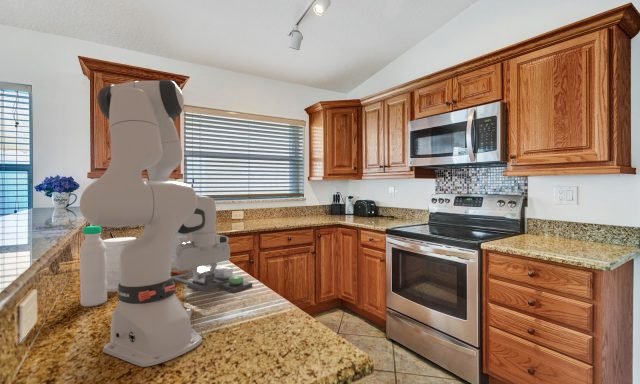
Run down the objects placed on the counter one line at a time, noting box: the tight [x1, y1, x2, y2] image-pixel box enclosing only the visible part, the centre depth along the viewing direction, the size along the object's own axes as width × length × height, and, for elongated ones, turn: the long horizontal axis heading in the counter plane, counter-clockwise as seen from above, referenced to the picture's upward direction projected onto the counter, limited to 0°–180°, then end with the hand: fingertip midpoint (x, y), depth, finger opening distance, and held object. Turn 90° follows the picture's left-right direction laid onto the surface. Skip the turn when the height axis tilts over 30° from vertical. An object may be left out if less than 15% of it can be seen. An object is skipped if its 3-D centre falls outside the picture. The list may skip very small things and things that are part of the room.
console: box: [219, 280, 253, 293], centre depth 112 cm, size 8×8×2 cm
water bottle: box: [78, 225, 108, 308], centre depth 101 cm, size 7×7×25 cm
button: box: [229, 275, 244, 285], centre depth 112 cm, size 5×5×4 cm
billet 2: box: [214, 265, 234, 281], centre depth 120 cm, size 7×4×5 cm, turn 52°
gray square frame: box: [172, 272, 193, 285], centre depth 125 cm, size 12×12×2 cm
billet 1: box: [192, 266, 215, 286], centre depth 114 cm, size 7×4×5 cm, turn 54°
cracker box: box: [171, 233, 192, 275], centre depth 135 cm, size 14×6×21 cm, turn 58°
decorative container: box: [102, 236, 137, 293], centre depth 118 cm, size 12×12×18 cm
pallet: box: [186, 279, 229, 293], centre depth 117 cm, size 11×15×3 cm
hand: (204, 277), depth 114 cm, fingers closed on billet 1, 4 cm apart
